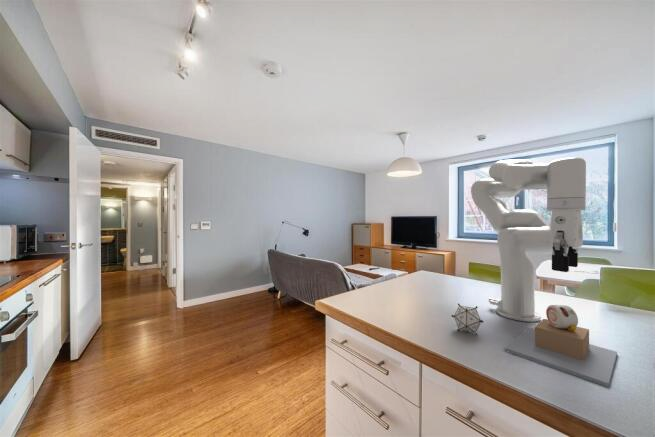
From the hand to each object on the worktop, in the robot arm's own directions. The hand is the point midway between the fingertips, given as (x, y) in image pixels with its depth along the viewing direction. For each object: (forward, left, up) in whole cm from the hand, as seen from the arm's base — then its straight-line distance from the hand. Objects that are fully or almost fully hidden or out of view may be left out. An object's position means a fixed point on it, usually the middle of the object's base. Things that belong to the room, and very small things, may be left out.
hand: (565, 268), depth 67 cm
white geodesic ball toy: (-20, -12, -21) cm, 32 cm away
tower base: (0, -6, -21) cm, 22 cm away
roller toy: (0, -3, -15) cm, 16 cm away
